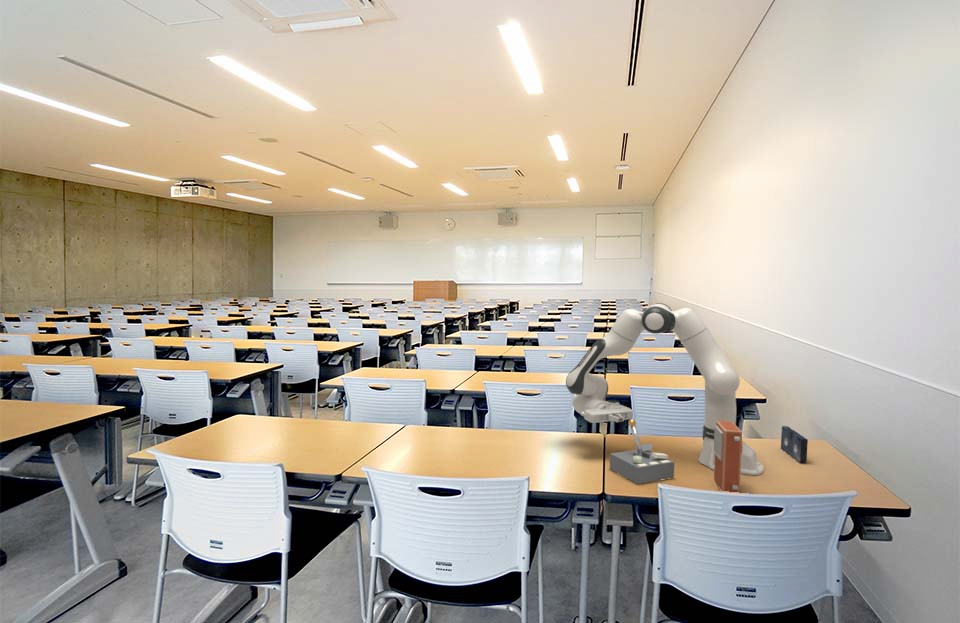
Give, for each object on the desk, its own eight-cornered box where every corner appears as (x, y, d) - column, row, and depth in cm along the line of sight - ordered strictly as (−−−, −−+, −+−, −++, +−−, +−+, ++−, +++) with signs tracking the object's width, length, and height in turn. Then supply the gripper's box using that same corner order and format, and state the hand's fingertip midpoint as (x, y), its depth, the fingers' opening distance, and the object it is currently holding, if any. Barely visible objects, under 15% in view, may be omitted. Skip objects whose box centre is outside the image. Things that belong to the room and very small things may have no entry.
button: (631, 461, 190) (631, 456, 190) (638, 460, 191) (638, 455, 191) (636, 464, 187) (637, 458, 187) (643, 463, 188) (643, 457, 188)
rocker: (651, 455, 193) (652, 452, 193) (662, 456, 195) (663, 453, 195) (656, 458, 190) (657, 454, 190) (667, 458, 192) (668, 455, 192)
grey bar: (639, 451, 200) (637, 445, 201) (651, 449, 202) (649, 444, 203) (640, 451, 199) (639, 445, 200) (652, 449, 201) (651, 443, 202)
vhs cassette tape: (806, 464, 206) (808, 439, 206) (798, 464, 207) (799, 438, 206) (788, 449, 224) (789, 426, 224) (780, 449, 225) (781, 425, 224)
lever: (635, 454, 196) (626, 420, 200) (641, 453, 196) (631, 420, 201) (640, 453, 193) (630, 419, 198) (645, 452, 194) (636, 418, 199)
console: (609, 469, 199) (610, 449, 199) (644, 463, 205) (644, 444, 205) (637, 484, 185) (638, 463, 184) (673, 478, 191) (674, 457, 190)
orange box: (731, 479, 190) (743, 496, 175) (710, 478, 191) (720, 494, 177) (733, 420, 188) (745, 432, 174) (712, 419, 190) (722, 431, 175)
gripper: (578, 405, 214) (598, 414, 201) (620, 401, 221) (642, 409, 209) (577, 420, 214) (597, 430, 201) (619, 416, 222) (641, 425, 209)
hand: (620, 419), depth 205 cm, fingers closed
